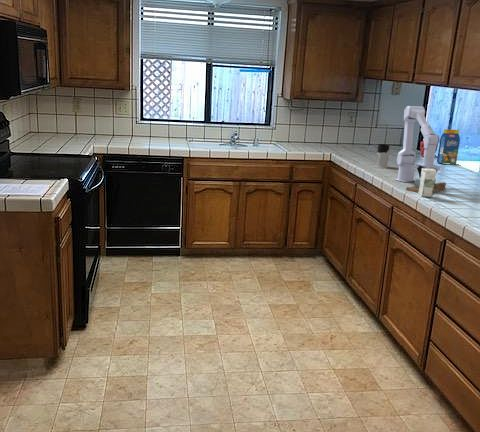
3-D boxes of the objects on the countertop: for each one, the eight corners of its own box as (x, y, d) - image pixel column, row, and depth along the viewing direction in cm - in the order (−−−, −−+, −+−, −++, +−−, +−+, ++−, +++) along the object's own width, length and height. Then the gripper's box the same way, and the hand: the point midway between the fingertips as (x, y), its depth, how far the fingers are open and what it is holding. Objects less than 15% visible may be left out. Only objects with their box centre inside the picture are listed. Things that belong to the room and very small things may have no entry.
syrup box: (428, 194, 275) (432, 168, 271) (432, 197, 269) (436, 170, 265) (417, 194, 275) (421, 167, 271) (421, 197, 269) (425, 169, 265)
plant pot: (438, 157, 410) (441, 142, 406) (431, 158, 400) (434, 143, 397) (423, 154, 418) (425, 140, 415) (415, 156, 409) (417, 141, 406)
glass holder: (388, 168, 348) (390, 146, 344) (366, 166, 351) (369, 144, 347) (387, 166, 356) (390, 144, 352) (366, 164, 359) (368, 143, 355)
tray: (426, 184, 293) (428, 175, 291) (434, 185, 289) (436, 177, 288) (414, 186, 286) (415, 177, 284) (422, 187, 282) (423, 178, 281)
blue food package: (456, 164, 378) (461, 130, 371) (441, 164, 376) (446, 129, 369) (451, 163, 384) (456, 129, 377) (436, 162, 382) (441, 128, 375)
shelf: (429, 186, 297) (430, 179, 296) (444, 189, 290) (446, 182, 289) (406, 189, 284) (407, 182, 283) (421, 193, 277) (422, 186, 276)
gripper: (413, 155, 286) (409, 179, 290) (436, 159, 275) (432, 184, 279) (420, 154, 290) (417, 178, 294) (444, 158, 279) (440, 183, 283)
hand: (425, 181), depth 287 cm, fingers closed on tray, 5 cm apart
